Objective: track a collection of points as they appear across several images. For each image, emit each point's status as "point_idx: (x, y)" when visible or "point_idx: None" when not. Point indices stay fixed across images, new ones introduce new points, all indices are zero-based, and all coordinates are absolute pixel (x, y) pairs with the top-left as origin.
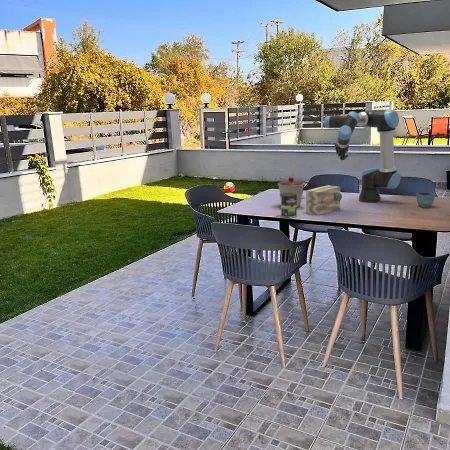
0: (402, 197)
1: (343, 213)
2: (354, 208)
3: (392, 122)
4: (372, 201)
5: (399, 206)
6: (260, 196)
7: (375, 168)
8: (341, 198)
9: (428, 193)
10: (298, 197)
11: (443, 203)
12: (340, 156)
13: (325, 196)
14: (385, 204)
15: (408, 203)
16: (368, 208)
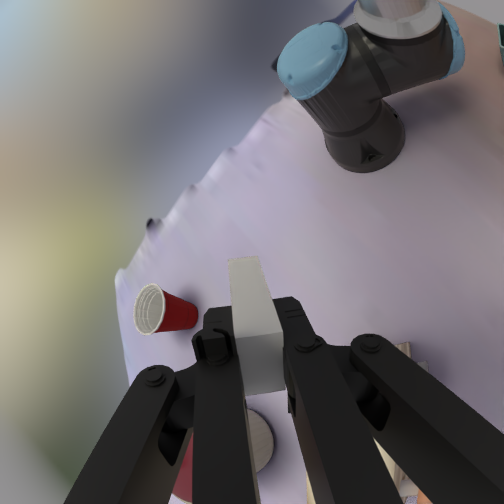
0: None
1: (477, 397)
2: (447, 285)
3: None
4: (400, 147)
5: (496, 118)
6: (131, 367)
7: (313, 31)
8: (427, 363)
9: (501, 26)
10: (256, 458)
11: (488, 23)
12: (261, 378)
13: (400, 480)
14: (450, 132)
15: (464, 73)
16: (480, 234)
